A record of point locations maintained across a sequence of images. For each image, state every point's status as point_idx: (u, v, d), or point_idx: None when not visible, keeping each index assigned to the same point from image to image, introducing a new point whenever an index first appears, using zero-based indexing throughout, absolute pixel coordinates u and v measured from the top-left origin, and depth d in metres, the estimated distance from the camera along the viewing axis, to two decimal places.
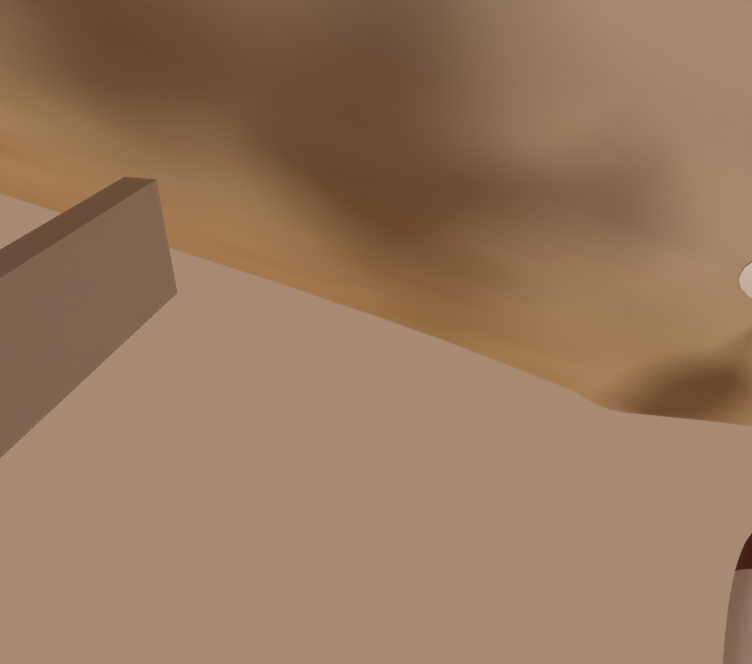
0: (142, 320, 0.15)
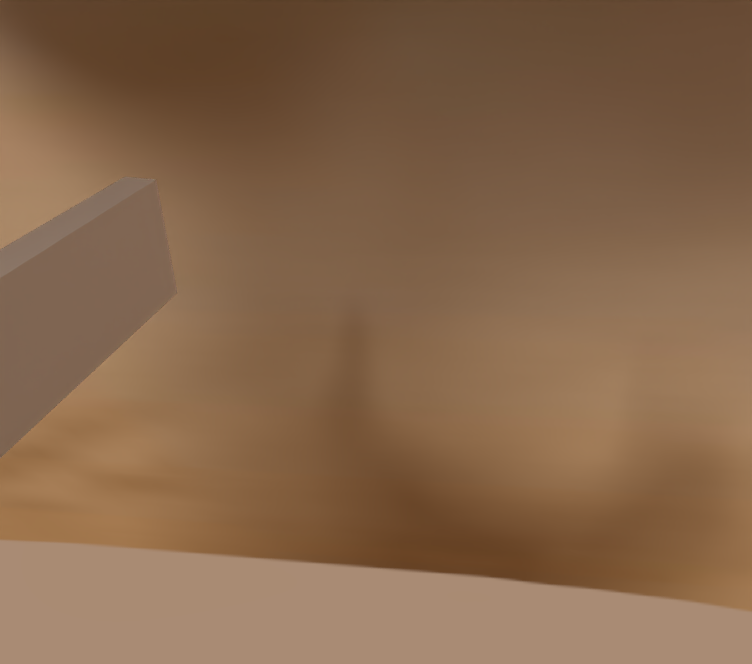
0: (142, 320, 0.15)
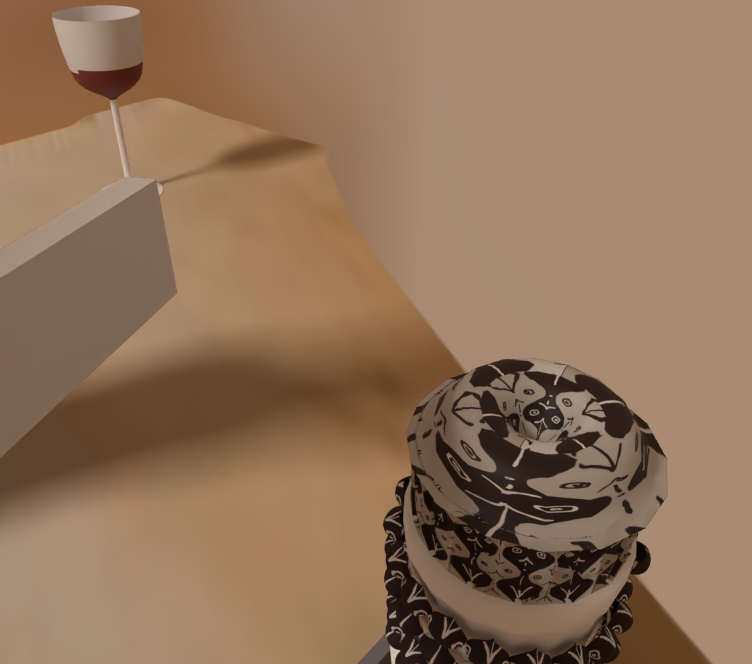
0: (142, 320, 0.15)
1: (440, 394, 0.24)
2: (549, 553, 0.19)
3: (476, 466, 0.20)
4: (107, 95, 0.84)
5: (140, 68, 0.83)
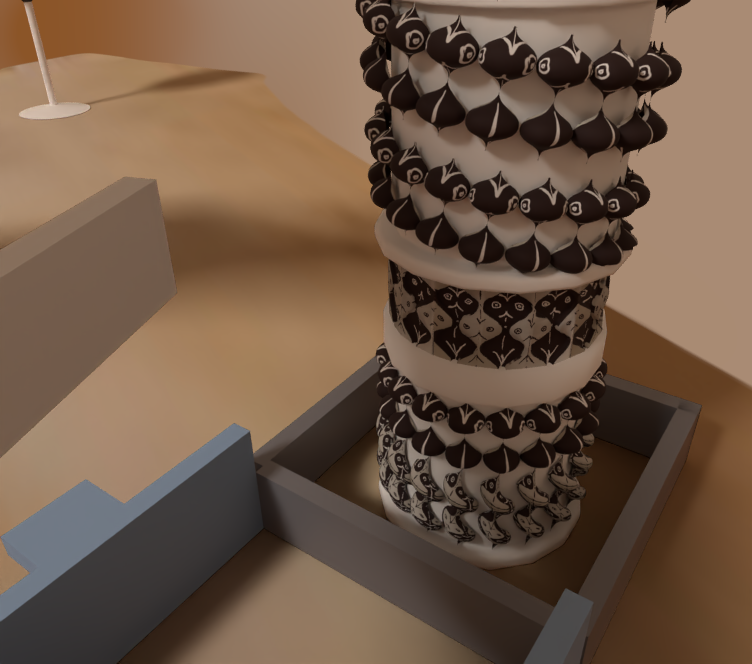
0: (142, 320, 0.15)
1: None
2: None
3: None
4: None
5: None
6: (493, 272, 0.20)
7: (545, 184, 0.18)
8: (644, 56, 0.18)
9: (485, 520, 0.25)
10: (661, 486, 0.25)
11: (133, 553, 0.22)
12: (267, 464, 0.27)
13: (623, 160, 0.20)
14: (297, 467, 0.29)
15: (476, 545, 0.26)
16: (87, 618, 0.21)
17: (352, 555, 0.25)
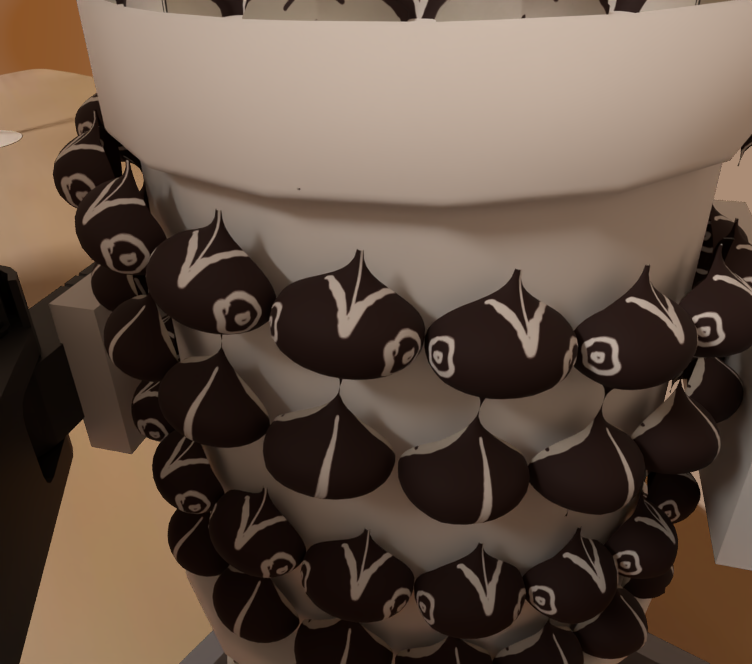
0: None
1: None
2: None
3: None
4: None
5: None
6: None
7: (471, 555, 0.08)
8: (706, 284, 0.07)
9: None
10: None
11: None
12: None
13: None
14: None
15: None
16: None
17: None
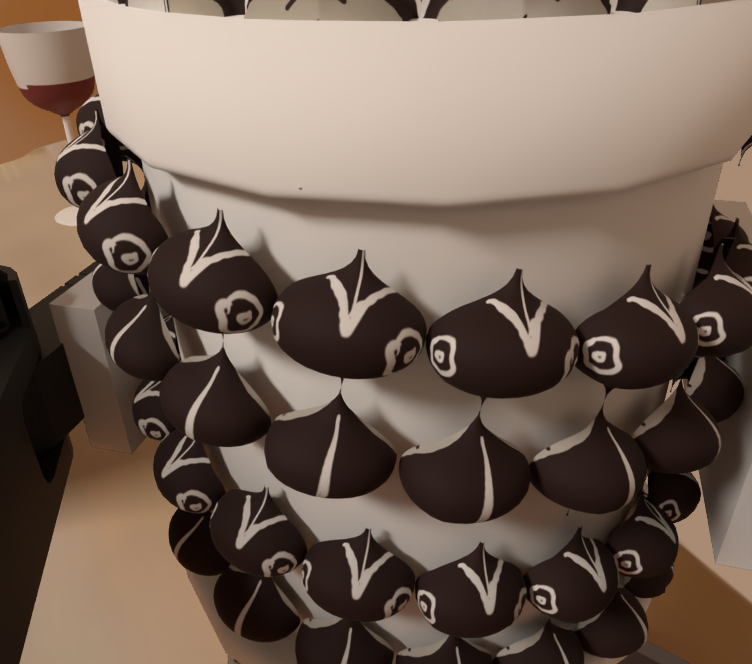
0: None
1: None
2: None
3: None
4: (59, 111, 0.80)
5: (92, 82, 0.80)
6: None
7: (472, 554, 0.08)
8: (706, 284, 0.07)
9: None
10: None
11: None
12: None
13: None
14: None
15: None
16: None
17: None
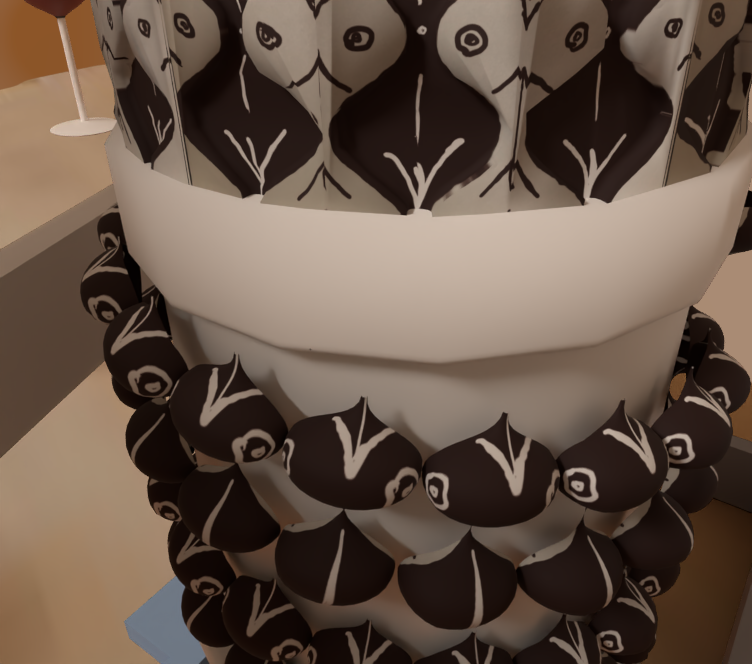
0: None
1: None
2: None
3: None
4: (54, 11, 0.77)
5: None
6: None
7: (464, 643, 0.09)
8: (677, 406, 0.08)
9: None
10: None
11: None
12: None
13: None
14: None
15: None
16: None
17: None
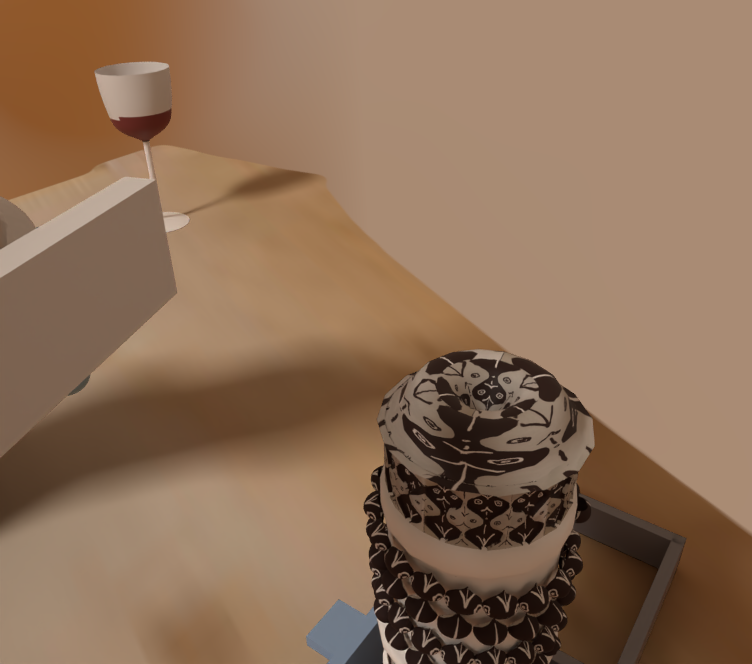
0: (142, 320, 0.15)
1: (402, 387, 0.28)
2: (504, 499, 0.24)
3: (438, 435, 0.24)
4: (142, 138, 0.96)
5: (170, 113, 0.96)
6: None
7: (491, 649, 0.28)
8: (554, 580, 0.27)
9: None
10: (661, 597, 0.43)
11: (371, 643, 0.40)
12: None
13: None
14: None
15: None
16: None
17: None
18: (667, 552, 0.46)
